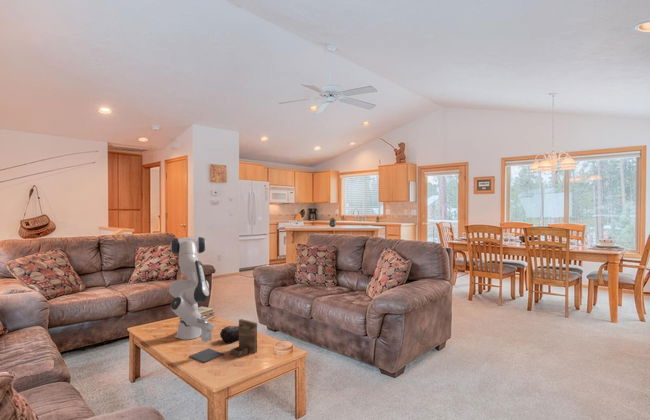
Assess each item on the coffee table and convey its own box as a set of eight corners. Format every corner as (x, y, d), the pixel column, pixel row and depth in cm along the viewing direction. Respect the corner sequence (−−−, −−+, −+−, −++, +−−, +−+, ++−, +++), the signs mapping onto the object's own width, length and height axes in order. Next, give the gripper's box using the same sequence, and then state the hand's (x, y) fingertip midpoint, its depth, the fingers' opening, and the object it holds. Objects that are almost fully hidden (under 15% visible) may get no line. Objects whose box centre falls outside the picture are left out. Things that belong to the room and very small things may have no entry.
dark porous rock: (248, 337, 249) (248, 322, 249) (227, 345, 235) (227, 330, 235) (238, 334, 255) (238, 320, 255) (217, 342, 241) (217, 326, 241)
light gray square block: (205, 341, 215) (205, 325, 215) (201, 340, 217) (201, 323, 217) (211, 339, 218) (211, 323, 218) (206, 338, 221) (206, 322, 221)
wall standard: (242, 358, 214) (242, 328, 214) (226, 353, 222) (226, 323, 222) (257, 352, 224) (257, 323, 224) (241, 347, 232) (241, 319, 232)
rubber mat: (189, 357, 216) (189, 355, 216) (208, 349, 228) (208, 348, 228) (204, 363, 208) (204, 361, 208) (223, 354, 220) (223, 353, 220)
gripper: (207, 316, 206) (221, 328, 214) (185, 310, 218) (199, 322, 226) (201, 326, 203) (215, 338, 211) (179, 319, 214) (193, 331, 222)
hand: (207, 330), depth 218 cm, fingers closed on light gray square block, 4 cm apart
